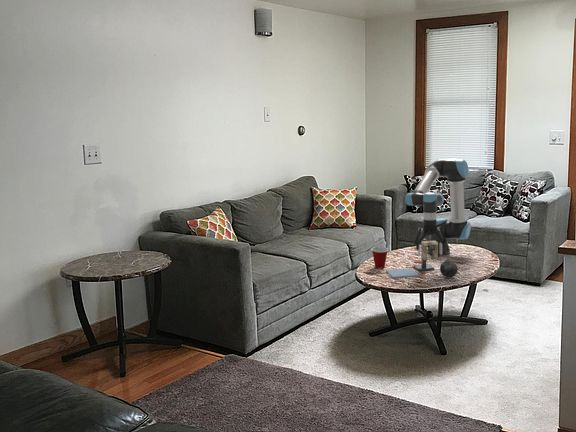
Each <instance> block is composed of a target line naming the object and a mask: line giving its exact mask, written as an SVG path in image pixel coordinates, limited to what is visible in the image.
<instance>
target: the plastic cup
mask: <svg viewBox="0 0 576 432" xmlns="http://www.w3.org/2000/svg"><path fill="white" fill-rule="evenodd" d="M371 251H372V252H371V253H372V257H373V262H374V267H375V268H376V269H384V268H385V266H386V261H387V255H388V253H389V252H388V251H389V248H387V247H384V246H374V247H371Z"/></svg>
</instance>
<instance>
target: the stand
mask: <svg viewBox="0 0 576 432" xmlns="http://www.w3.org/2000/svg"><path fill="white" fill-rule="evenodd" d="M422 241H427V238H424V239H423V240H422ZM422 241H421V242H420V259H421V261H420V262H421V264H413V268H414V269H415V270H416V271H417V272H426V271H435V267H434V266H433V265H432V264H430V263H427V260H423V259H422ZM427 248H430V249H431V250H434V249H435V247H434V246H433V245H427Z"/></svg>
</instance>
